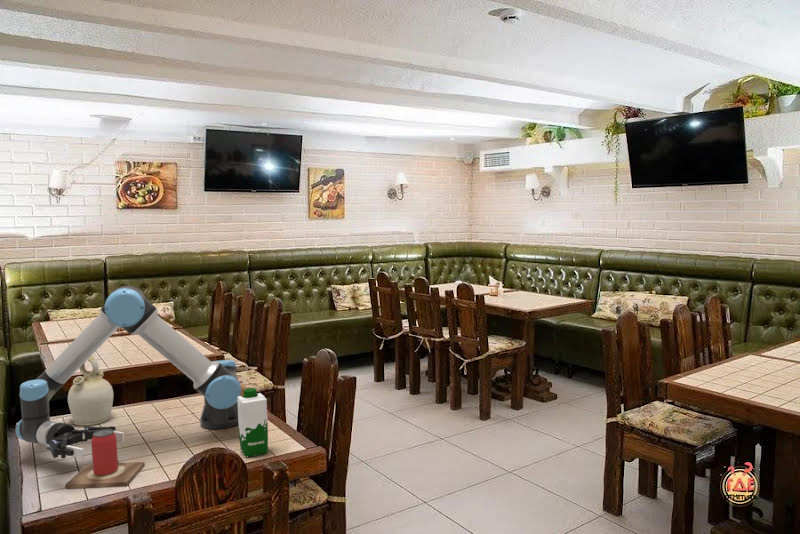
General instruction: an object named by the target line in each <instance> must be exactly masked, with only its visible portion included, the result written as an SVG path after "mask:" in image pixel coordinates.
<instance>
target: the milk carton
mask: <svg viewBox="0 0 800 534" xmlns="http://www.w3.org/2000/svg"><path fill="white" fill-rule="evenodd" d="M267 400H268V399H267V398H266V397H265V395H264V394H262V393H261V392H258V393H257V388H254V387H252V388H251V387H249V388H245V389H244V390H243V394H242V395H240V396H238V440H239V446H240V451H241V450H242V451H241V453H242V452H243V453H244V454H243V453H242V454H243V456H244V455H245V456H246V457H247V456H253V457H255V456H254V455H258V456H260V455H259V454H263V455H267V454H266V453H269V451H268V449H269V428H268V427H269V426H268V403H267V402H268V401H267ZM245 456H244V457H245ZM246 457H245V458H246Z"/></svg>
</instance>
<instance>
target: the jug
mask: <svg viewBox="0 0 800 534" xmlns="http://www.w3.org/2000/svg"><path fill="white" fill-rule="evenodd" d="M87 361H88V362H89V363H90V364H91V366H92V370H91V371H88V370H87V369H86V366H85V365H86V364H85V363H86V362H85V363H84V364H83V365H82V366H81V367H80V368H79V369H78V370H79V371H80V373H81V374H82V375H83V376H82V375H79V376H76V377H75V378H74V379H73V380H72V385H71V387H70V388H69V391H68V394H67V403H68V408H69V411H70V415H71V419H72V421H73V424H74V425H76V426H81V427H86V426H88V427H91V426H95V425H100V424H102V423H104V422H107V421H108V420H110V418H111V415H112V410H113V405H114V404H113V402H114V397H115V396H114V390H113V386H112V385H111V383H110V382H109V381H108V380H107V379H104V378H103V377H104V376H105V374H104V370H103V369H99V363H98V360H97V359H96V358H95V357H94V356H93V355H92V356H91V357H90V358H89V359H88V360H87Z"/></svg>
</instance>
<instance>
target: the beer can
mask: <svg viewBox="0 0 800 534" xmlns="http://www.w3.org/2000/svg"><path fill="white" fill-rule="evenodd" d="M90 444H91V457H92V464H93V472H94V474H95V475H98V476H104V475H109V474H112V473H114V472H115V471H117V469H118V463H119V460H118V459H119V457H118V445H117V444H118V441H117V440H116V435H115V433H114V430H112V429H103V430H99V431H96V432H94V433H93V437H92V439H91V442H90Z"/></svg>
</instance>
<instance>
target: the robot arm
mask: <svg viewBox="0 0 800 534" xmlns="http://www.w3.org/2000/svg"><path fill="white" fill-rule="evenodd" d="M99 310H100V311H99V314H98V315H97V316H96V318H94V319H93V321H92V322H90V324H89V325H88V326H87V327H86V328H84V329H83V330H82V332H81V333H80V334H79V335H78V336H77V337H76V338H75V339H74V340H73V341H72V342H71V343H70V344H69V345H68V346H67V347H66V348H64V350H63V351H62V352H61V353H60V354H59V355H58V356H57V357H56V358H55V360H53V361H52V363H51V364H49V365H48V367H47V368H46V369H45V370H44V371H43V372H42V373H41V374H40V375H39V376H37V377H36V378H35V379H31V380H30V379H29V380H27V381H24V382H23V383H21V384H20V385H19V394H18V395H19V398H20V399H19V400H20V411H21V419H20V420H19V421H18V422H17V425H16V427H15V434H16V437H17V438H19V439H20V440H21V441H25V442H26V443H29V444H30V443H33V444H38V445H41V446H46V450H48V451H49V452H50V453H51V455H52V457H53V458H54V459H56V458H58V457H59V456H60V458H61V459H65V458H67V457H73V458H77V459H81V460H83V459H85V449H84V448H81V447H78V446H74V444H78V443H85V442H88V441H89V440H92V437H93V433H94V432H96V431H99V430H103V429H112V430H114V433H115V435H116V440H117V442H121V443H124V442H125V438H126V436H125V432H121V431H118V430H116V429H117V428H116V426H112V425H111V426H83V427H84V429H76V428H75V427H74V426H73V425H71V424H70V423H64V422H60V421H55V420H51V417H50V413H51V412H50V401H51V400H52V398H53V396H54V395H55V394H56V393H57V392H58V391H59V390H60V389H61V388H63V386H64V384H65V383H67V382H68V380H69V379H70V378H71V377H72V376H74V374H75V373H76V372H77V371H78V370H80V369H79V368H80V367H81V366H82V365H83V364H84V363H86V362H87V361H88V359H89V358H90V357H91V356H92V357H93V354H94V353H95V352H96V351H98V350H99V348H101V346H103V345H104V344H105V342H106V341H107V340H108V339H109V338H110V337H111V336H113V334H114V333H115V332H116V331H118V329H120V328H122V329H123V330H124V331H125V332H127V333H128V334H129V336H135V335H136V336H139V337H141V338H142V340H144V341H145V342H146V343H147V344H148V345H149V346H151V347H152V348H153V349H155V350H156V351H157V352H158V353H159V354H160V355H161V356H163V357H164V358H165V359H166V360H167V361H169V362H170V363H171V364H172V365H173V366H175V367H176V368H177V369H178V370H179V371H180V372H182V373H183V374H184V375H186V377H187V378H189V379H190V380H191V381H192V382H193V389H194V390H196V391H197V392H198V393H199V394H200V395H202V396H203V401H204V404H203V409H202V411H201V415H200V418H199V419H200V420H199V423H200V426H201V427H202V428H204V429H208V430H223V429H228V427H229V428H232V426H233V427H235V425H236V426H239V424H238V396H241V393H242V385H241V382H240V381H239V379H238V378H239V377H238V376H237V363H236V361H235V360H233V359H222V360H213V361H211V360H210V359H209V358H208V357H206V355H204V354H203V353H202V352H201V351H200V350H198V349H197V348H196V347H195V346H194V345H193V344H191V343H190V342H189V341H188V340H187V339H186V338H184V337H183V336H182V335H181V334H180V333H179V332H177V331H176V330H175V329H174V328H173V327H172V326H171V325H170V324H168V323H167V322H166V321H165V320H164V319H163V318H161V316H159V314H158V312H159V311H158V308H157V307H156V306H155V305H154V304H152V303H151V302H150V301H149V300H148V299H147V298H146V295H145V293H144V292H143V291H142V289H140V287H139V288H138V287H137V286H134V285H129V284H128V285H121V286H119V287H117V288H116V289H115V290H113V291H112V292H111V293H110V294H109V296H108V297H106V299H105V303H104V304H103V306H102V307H101V308H100V309H99ZM83 437H84V438H83ZM72 445H73V446H72Z"/></svg>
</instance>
